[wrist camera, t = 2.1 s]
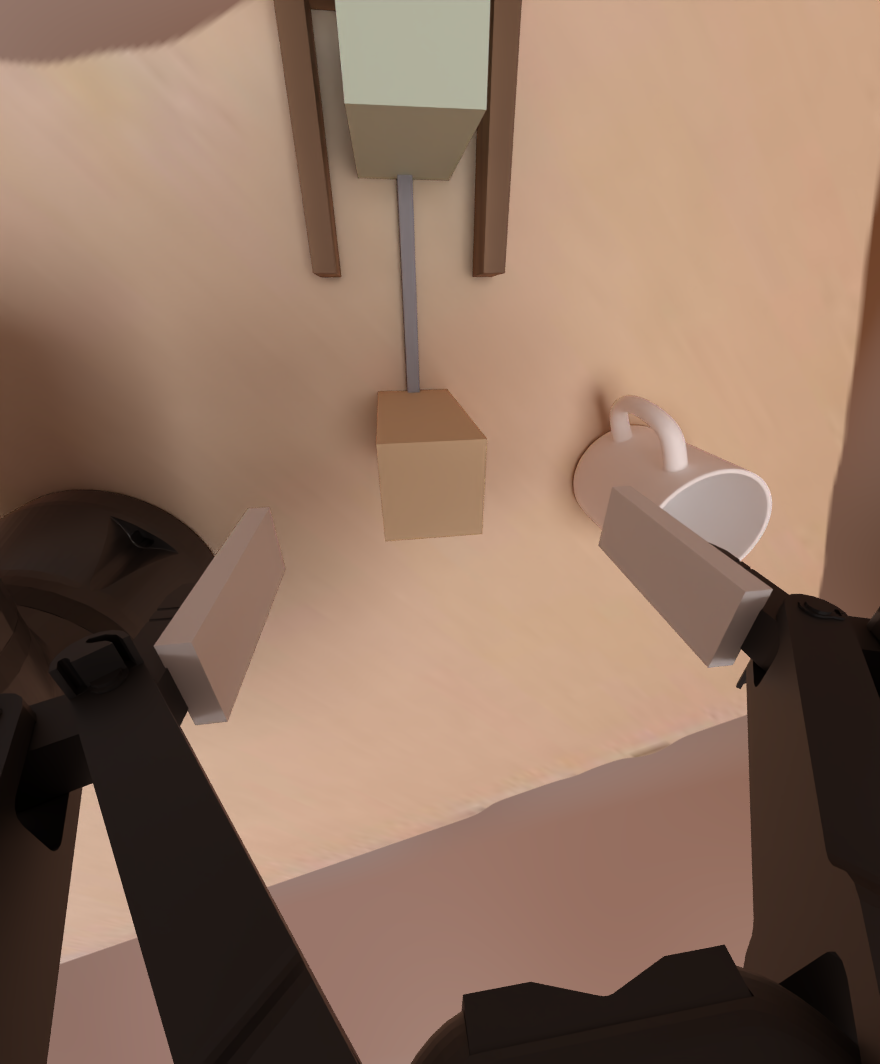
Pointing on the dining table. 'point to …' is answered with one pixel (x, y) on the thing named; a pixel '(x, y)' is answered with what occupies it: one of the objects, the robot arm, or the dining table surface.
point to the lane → (490, 148)
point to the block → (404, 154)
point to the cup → (673, 478)
